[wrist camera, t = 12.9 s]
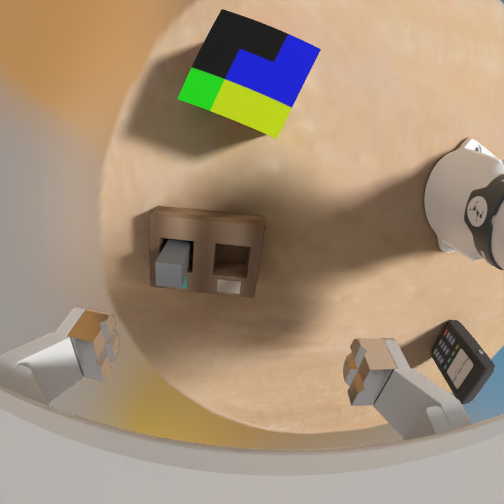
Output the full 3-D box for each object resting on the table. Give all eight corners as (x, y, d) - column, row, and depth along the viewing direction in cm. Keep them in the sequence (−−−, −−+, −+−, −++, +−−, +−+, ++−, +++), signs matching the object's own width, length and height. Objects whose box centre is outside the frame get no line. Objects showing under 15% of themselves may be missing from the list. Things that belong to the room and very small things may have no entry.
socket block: (262, 216, 41) (264, 227, 37) (253, 282, 45) (254, 298, 41) (157, 206, 40) (149, 215, 36) (157, 272, 44) (150, 287, 40)
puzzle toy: (301, 65, 32) (320, 49, 23) (268, 134, 36) (276, 139, 27) (227, 35, 31) (221, 9, 22) (194, 104, 34) (177, 99, 25)
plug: (193, 235, 41) (181, 265, 33) (192, 255, 43) (181, 288, 34) (172, 232, 41) (155, 262, 33) (171, 252, 42) (155, 285, 34)
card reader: (446, 317, 49) (485, 369, 36) (459, 318, 50) (498, 366, 36) (427, 354, 53) (458, 406, 39) (440, 353, 53) (472, 403, 40)
